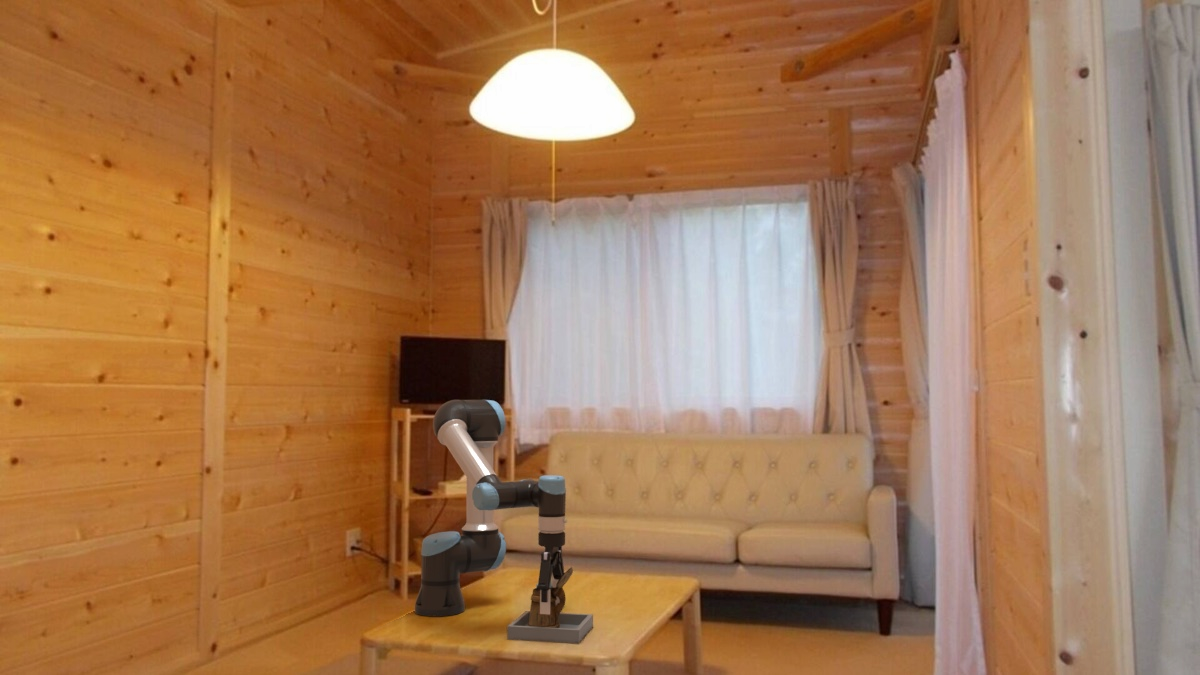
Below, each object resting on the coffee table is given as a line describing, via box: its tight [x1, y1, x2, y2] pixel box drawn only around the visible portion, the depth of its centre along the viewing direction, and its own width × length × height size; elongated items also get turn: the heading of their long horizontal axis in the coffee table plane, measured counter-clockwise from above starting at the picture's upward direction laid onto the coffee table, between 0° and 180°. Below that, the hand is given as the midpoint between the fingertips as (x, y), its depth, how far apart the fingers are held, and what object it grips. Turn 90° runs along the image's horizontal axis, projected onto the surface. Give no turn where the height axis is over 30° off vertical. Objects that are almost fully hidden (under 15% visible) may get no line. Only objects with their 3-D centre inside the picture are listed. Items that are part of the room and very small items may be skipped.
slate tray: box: [506, 610, 594, 645], centre depth 249 cm, size 20×18×4 cm
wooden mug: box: [527, 567, 574, 628], centre depth 249 cm, size 9×14×18 cm, turn 66°
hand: (551, 608), depth 249 cm, fingers open, 13 cm apart
